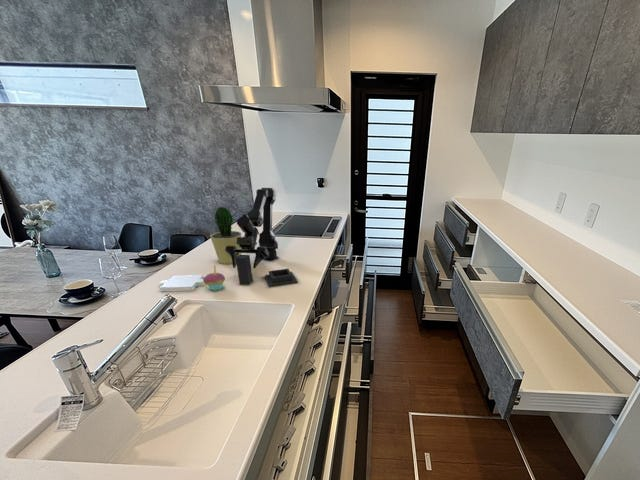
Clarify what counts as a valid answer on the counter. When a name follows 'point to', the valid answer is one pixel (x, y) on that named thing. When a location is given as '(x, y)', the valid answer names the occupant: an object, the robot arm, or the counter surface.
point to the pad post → (244, 269)
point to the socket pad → (280, 278)
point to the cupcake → (214, 280)
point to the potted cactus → (224, 235)
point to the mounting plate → (182, 283)
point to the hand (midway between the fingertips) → (243, 267)
